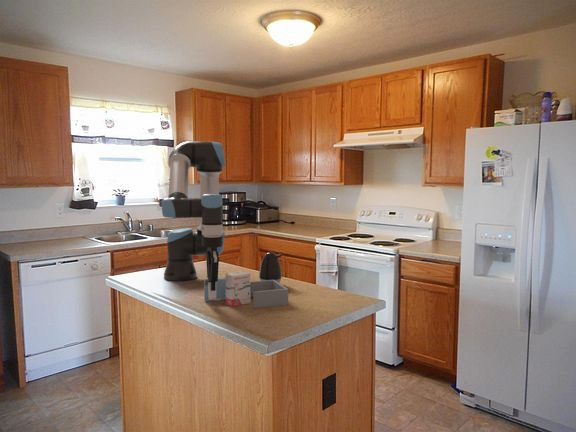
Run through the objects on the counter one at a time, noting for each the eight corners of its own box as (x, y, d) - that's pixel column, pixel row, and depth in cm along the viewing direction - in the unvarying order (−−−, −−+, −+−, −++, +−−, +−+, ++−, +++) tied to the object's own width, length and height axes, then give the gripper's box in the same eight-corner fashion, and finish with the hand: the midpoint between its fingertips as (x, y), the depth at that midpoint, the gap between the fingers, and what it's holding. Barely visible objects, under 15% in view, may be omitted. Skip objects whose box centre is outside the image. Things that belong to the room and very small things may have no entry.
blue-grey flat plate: (237, 296, 169) (237, 277, 168) (237, 297, 168) (237, 277, 167) (204, 299, 164) (204, 279, 163) (204, 300, 163) (204, 280, 162)
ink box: (231, 307, 156) (231, 275, 155) (224, 304, 160) (224, 273, 159) (251, 302, 162) (251, 272, 161) (243, 300, 166) (243, 270, 165)
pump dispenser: (279, 288, 183) (279, 254, 182) (256, 287, 185) (256, 253, 184) (284, 283, 193) (284, 250, 192) (262, 281, 195) (262, 249, 194)
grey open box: (238, 297, 169) (238, 275, 169) (273, 293, 175) (273, 272, 174) (249, 308, 154) (249, 284, 154) (288, 304, 160) (288, 281, 159)
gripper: (198, 234, 160) (199, 294, 162) (205, 238, 148) (205, 304, 150) (218, 233, 162) (218, 293, 164) (226, 237, 150) (226, 302, 152)
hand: (212, 298), depth 157 cm, fingers closed
